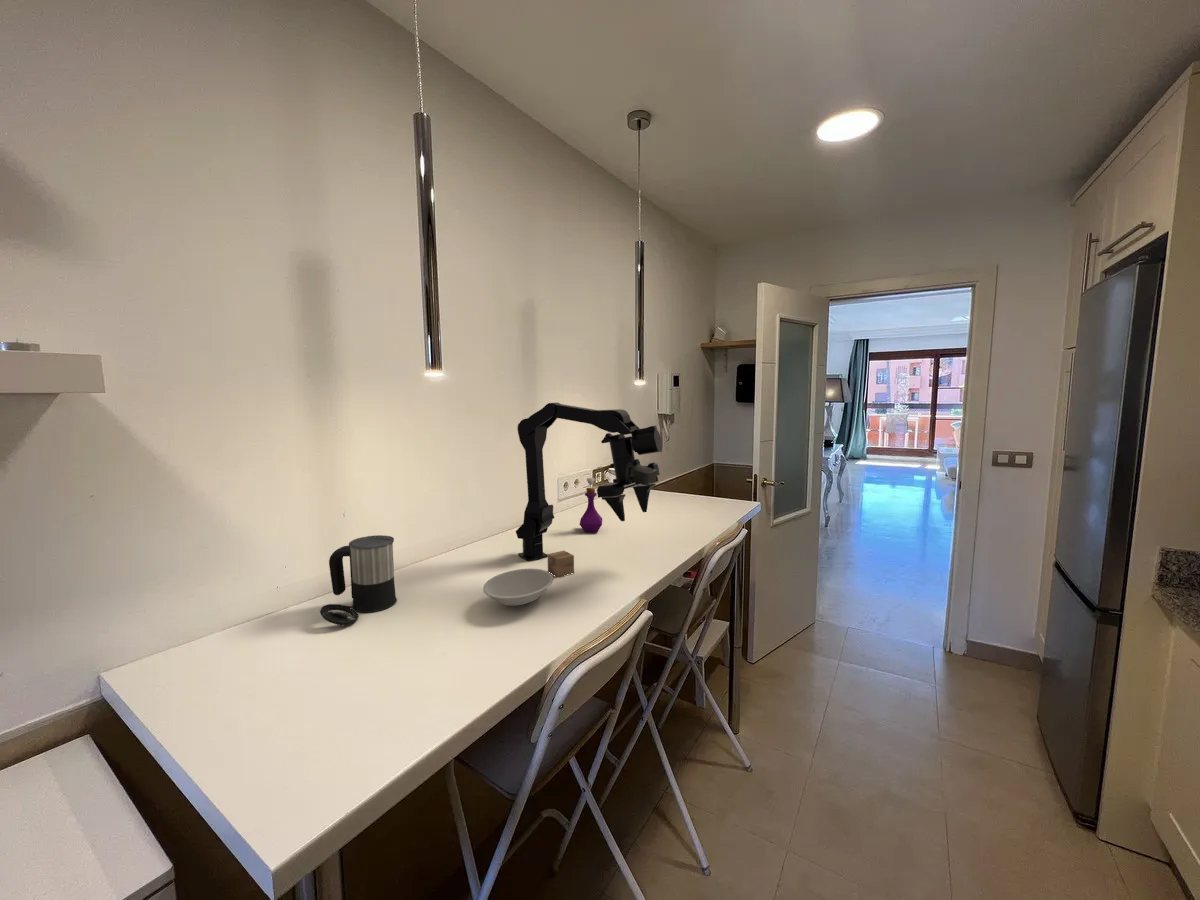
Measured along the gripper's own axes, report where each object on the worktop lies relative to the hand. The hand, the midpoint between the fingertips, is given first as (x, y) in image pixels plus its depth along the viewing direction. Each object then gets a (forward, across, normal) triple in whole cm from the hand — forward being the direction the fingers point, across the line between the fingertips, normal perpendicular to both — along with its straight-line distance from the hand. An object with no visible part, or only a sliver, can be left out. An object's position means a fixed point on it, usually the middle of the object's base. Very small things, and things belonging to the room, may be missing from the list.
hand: (634, 516), depth 131 cm
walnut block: (+11, -15, +16) cm, 24 cm away
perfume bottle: (+10, +19, +36) cm, 42 cm away
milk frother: (+6, -59, +31) cm, 67 cm away
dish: (+11, -34, +9) cm, 37 cm away
